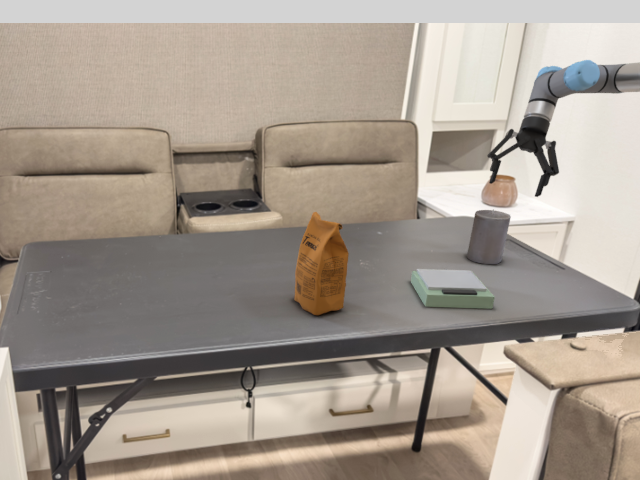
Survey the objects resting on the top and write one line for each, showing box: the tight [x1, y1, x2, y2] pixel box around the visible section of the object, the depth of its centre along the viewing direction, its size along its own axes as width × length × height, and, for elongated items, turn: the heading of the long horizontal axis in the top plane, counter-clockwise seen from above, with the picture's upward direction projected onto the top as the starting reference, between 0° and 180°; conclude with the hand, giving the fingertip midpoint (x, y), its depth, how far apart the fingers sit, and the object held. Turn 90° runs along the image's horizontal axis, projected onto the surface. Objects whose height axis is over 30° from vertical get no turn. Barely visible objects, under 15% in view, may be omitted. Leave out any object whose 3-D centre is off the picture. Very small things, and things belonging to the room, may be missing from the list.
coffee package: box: [294, 211, 350, 316], centre depth 136 cm, size 10×12×22 cm
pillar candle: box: [466, 209, 512, 265], centre depth 169 cm, size 10×10×15 cm
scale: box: [410, 268, 496, 310], centre depth 147 cm, size 16×16×4 cm
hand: (514, 189), depth 171 cm, fingers open, 13 cm apart
